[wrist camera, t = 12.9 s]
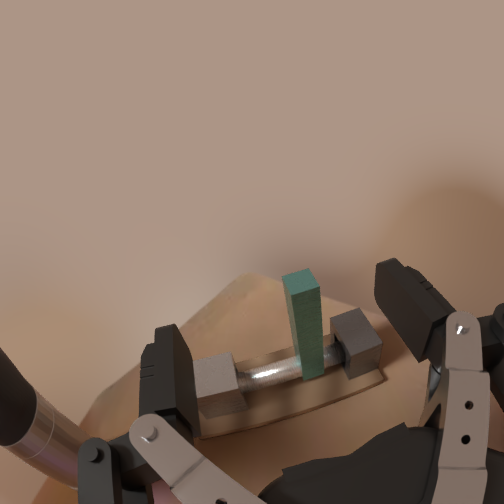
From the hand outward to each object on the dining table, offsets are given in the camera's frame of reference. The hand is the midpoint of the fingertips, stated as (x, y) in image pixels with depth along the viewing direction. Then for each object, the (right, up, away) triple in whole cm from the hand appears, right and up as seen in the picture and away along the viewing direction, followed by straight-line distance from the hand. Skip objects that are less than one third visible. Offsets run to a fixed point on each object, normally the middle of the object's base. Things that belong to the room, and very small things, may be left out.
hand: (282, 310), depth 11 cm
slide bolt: (+5, -14, +28) cm, 32 cm away
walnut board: (+4, -16, +29) cm, 34 cm away
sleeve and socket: (+4, -15, +29) cm, 33 cm away
